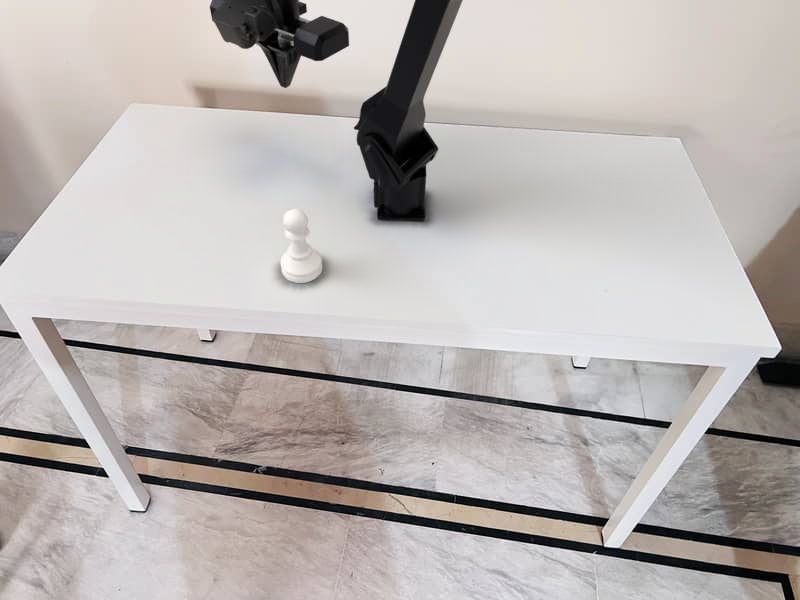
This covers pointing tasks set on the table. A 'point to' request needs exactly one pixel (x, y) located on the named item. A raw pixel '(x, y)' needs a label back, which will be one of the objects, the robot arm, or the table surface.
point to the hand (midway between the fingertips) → (285, 86)
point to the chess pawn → (299, 250)
